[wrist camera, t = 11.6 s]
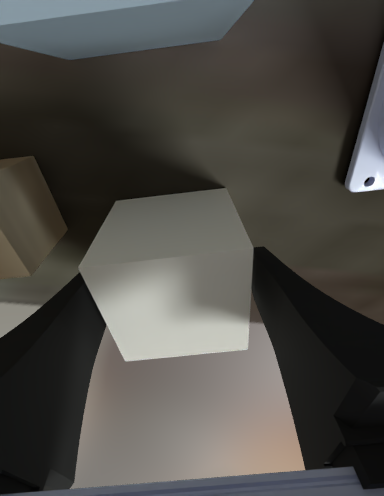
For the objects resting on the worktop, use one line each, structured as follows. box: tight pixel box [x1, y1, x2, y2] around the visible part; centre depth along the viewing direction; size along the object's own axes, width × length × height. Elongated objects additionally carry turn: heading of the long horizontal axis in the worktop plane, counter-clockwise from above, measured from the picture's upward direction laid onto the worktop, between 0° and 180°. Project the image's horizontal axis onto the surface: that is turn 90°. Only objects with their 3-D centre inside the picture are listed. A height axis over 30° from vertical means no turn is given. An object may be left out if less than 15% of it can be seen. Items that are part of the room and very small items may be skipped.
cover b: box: [78, 188, 254, 361], centre depth 11 cm, size 6×6×6 cm
